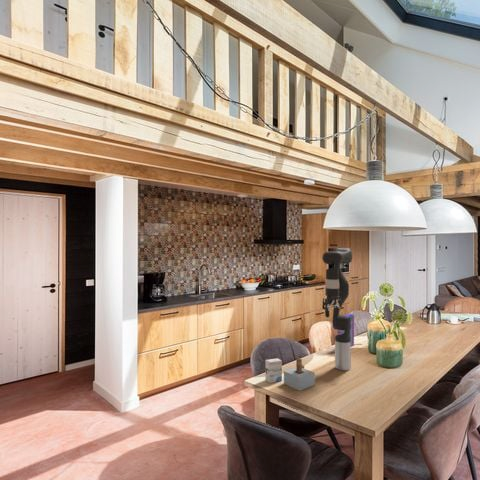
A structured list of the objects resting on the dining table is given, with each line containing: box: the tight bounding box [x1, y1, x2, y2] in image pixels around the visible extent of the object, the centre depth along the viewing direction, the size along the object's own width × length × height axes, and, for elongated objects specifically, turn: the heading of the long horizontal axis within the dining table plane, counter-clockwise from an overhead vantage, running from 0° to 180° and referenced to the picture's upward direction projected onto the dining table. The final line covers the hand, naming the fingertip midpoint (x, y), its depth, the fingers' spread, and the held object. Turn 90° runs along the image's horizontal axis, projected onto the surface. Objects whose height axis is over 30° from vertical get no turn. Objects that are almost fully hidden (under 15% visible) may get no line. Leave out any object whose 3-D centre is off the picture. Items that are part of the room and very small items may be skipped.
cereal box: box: [336, 313, 355, 348], centre depth 267 cm, size 17×5×24 cm, turn 136°
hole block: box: [283, 367, 316, 392], centre depth 196 cm, size 12×12×7 cm
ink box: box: [264, 357, 283, 384], centre depth 202 cm, size 8×5×12 cm, turn 111°
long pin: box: [295, 358, 303, 374], centre depth 196 cm, size 3×3×14 cm
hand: (332, 316), depth 197 cm, fingers open, 8 cm apart
